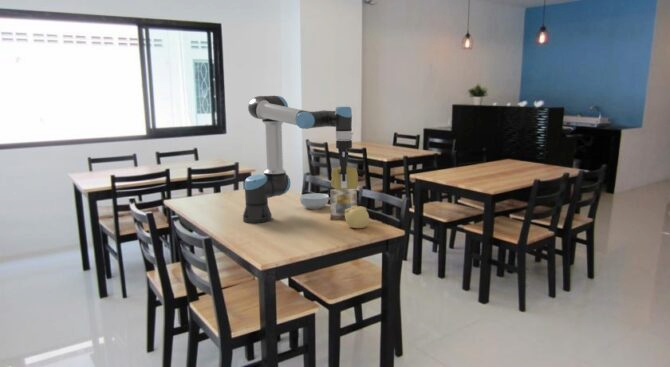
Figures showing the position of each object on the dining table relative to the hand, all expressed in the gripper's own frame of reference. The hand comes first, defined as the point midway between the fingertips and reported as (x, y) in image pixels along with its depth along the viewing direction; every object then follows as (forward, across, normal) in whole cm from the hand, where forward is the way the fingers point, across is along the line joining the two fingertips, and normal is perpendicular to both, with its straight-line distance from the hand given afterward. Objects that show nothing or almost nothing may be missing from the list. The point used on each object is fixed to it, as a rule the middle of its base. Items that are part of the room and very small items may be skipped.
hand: (344, 185), depth 222 cm
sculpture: (+23, +6, -6) cm, 24 cm away
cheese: (+2, 0, 0) cm, 2 cm away
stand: (+22, +22, +2) cm, 32 cm away
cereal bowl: (+23, +46, +20) cm, 54 cm away
